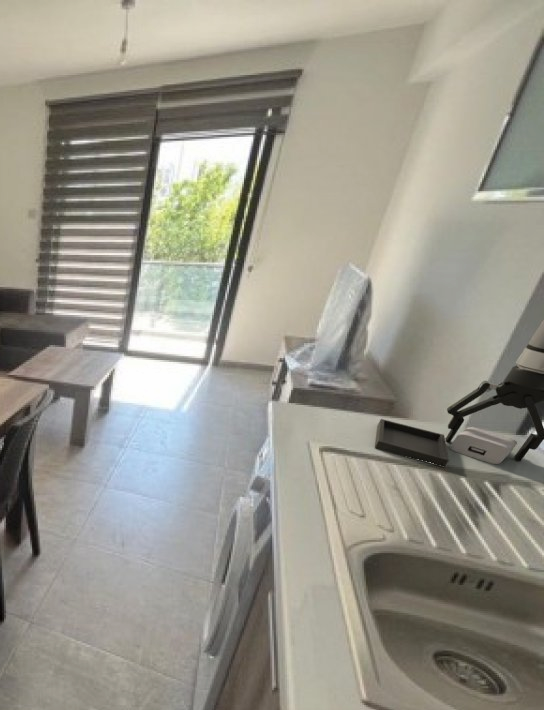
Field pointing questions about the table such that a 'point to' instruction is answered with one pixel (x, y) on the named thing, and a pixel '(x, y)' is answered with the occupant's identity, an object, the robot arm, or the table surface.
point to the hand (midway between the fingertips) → (481, 449)
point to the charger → (483, 445)
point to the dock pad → (411, 442)
